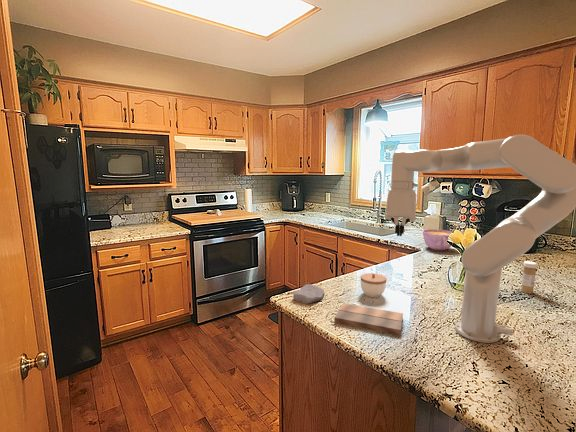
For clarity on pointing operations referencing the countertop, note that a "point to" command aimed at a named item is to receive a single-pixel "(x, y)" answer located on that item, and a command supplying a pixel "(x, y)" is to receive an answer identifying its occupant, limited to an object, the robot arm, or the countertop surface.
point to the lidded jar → (373, 284)
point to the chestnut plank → (371, 312)
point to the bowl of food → (436, 239)
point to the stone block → (309, 294)
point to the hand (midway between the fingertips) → (399, 235)
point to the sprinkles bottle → (528, 277)
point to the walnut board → (368, 322)
